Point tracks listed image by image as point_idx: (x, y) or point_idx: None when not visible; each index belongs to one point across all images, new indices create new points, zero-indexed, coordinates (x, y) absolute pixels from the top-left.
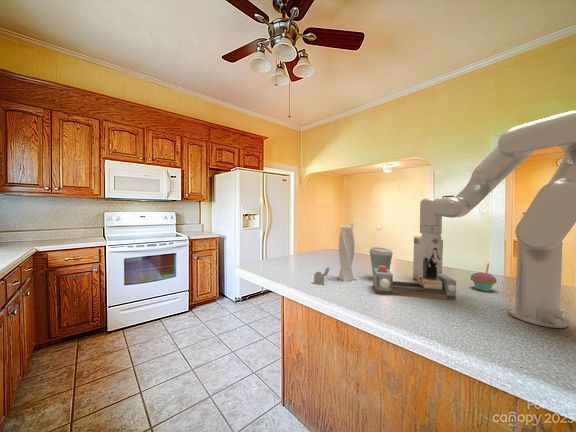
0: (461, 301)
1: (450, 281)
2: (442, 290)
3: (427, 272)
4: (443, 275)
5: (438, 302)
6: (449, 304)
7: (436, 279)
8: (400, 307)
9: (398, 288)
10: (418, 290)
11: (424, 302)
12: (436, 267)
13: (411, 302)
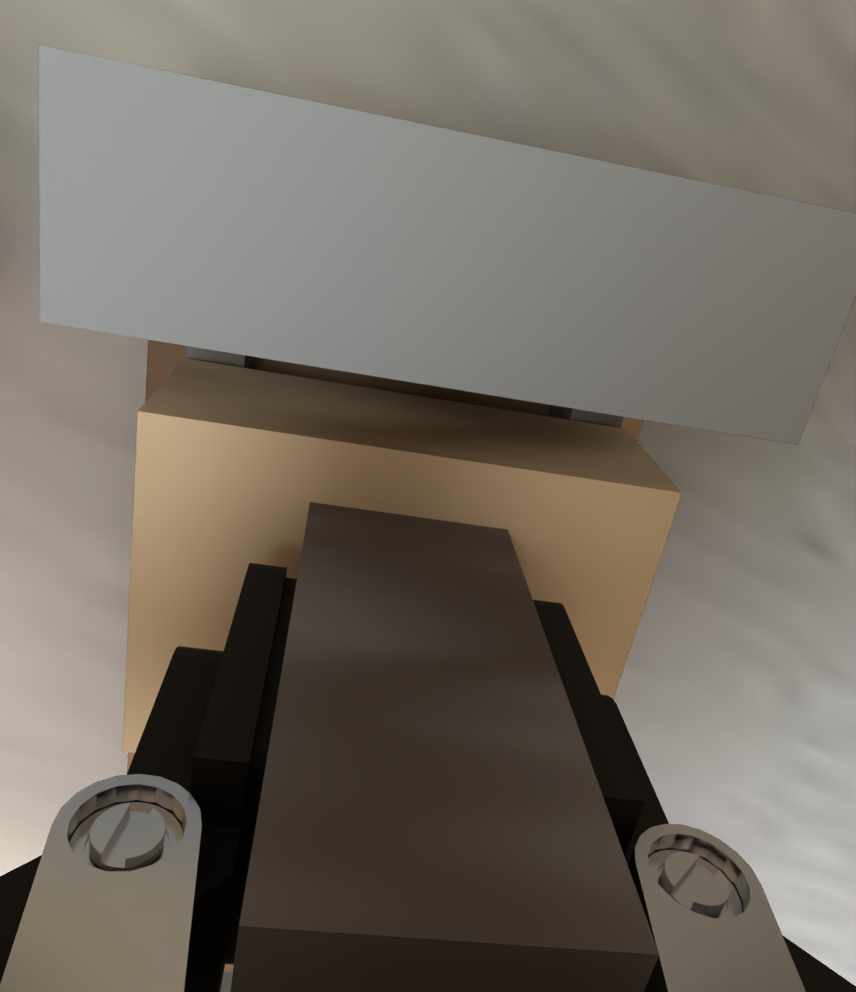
0: (760, 128)
1: (818, 359)
2: (622, 416)
3: None
4: (242, 207)
5: (753, 535)
6: (845, 425)
7: (504, 534)
8: (830, 962)
9: None
10: None
11: (732, 704)
12: (577, 756)
13: (715, 833)
